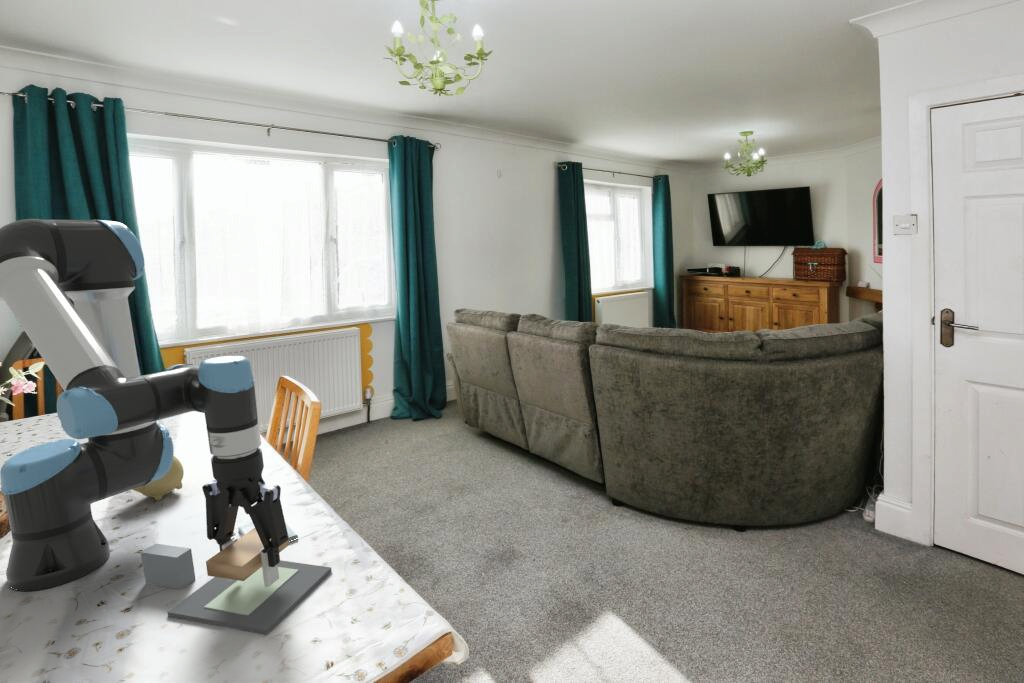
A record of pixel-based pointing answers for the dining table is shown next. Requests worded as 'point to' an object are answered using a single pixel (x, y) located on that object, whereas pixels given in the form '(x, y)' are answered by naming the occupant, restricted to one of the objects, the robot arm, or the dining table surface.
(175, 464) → the toy pig
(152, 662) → the dining table surface
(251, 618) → the mat
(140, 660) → the dining table surface
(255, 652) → the dining table surface
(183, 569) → the stand
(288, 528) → the hard drive
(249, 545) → the card box
